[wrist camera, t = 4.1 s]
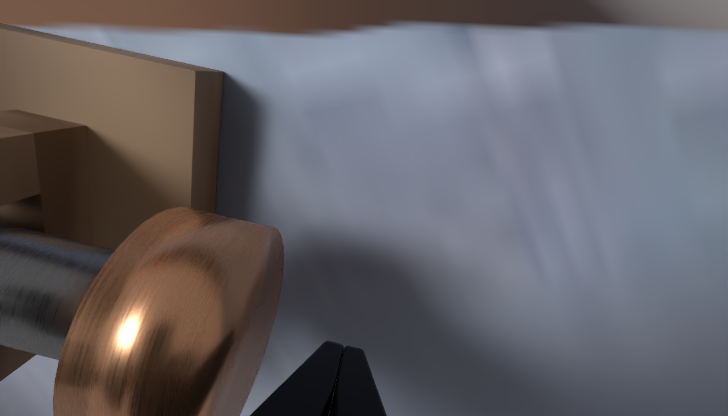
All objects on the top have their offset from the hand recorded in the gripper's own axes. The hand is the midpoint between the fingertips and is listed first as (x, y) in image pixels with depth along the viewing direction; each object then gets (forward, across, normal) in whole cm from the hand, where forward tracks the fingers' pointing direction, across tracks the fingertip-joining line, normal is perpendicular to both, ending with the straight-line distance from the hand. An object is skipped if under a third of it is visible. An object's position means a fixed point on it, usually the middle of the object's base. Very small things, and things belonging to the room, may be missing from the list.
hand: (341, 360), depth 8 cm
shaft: (+2, +8, 0) cm, 9 cm away
